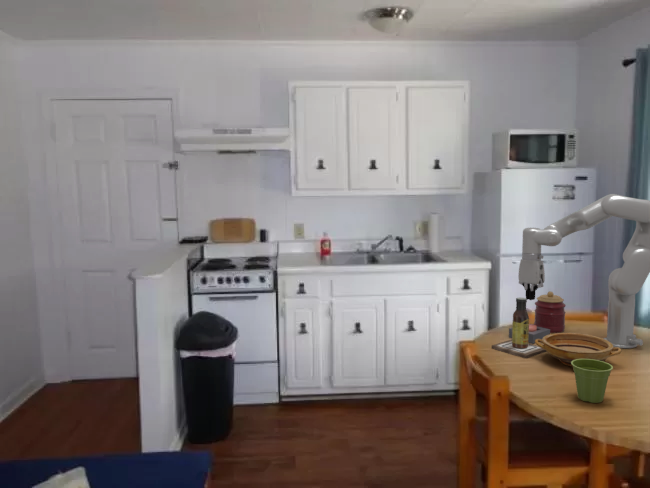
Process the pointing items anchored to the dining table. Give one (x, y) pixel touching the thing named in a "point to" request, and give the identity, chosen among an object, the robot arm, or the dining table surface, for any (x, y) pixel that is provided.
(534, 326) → the button
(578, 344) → the ceramic bowl
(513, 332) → the sauce bottle
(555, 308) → the canister
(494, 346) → the pad
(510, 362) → the dining table surface
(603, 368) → the plant pot
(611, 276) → the robot arm
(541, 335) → the button housing
